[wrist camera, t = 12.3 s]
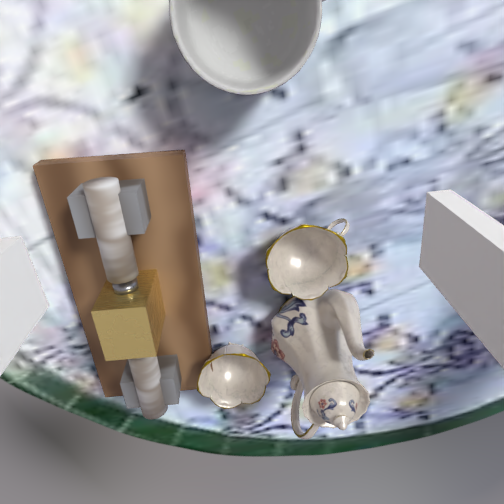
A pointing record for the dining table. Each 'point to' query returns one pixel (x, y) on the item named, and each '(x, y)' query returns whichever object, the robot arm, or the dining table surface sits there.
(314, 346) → the chinaware
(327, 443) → the dining table surface
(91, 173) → the rig
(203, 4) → the teacup
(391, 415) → the dining table surface
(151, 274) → the block
